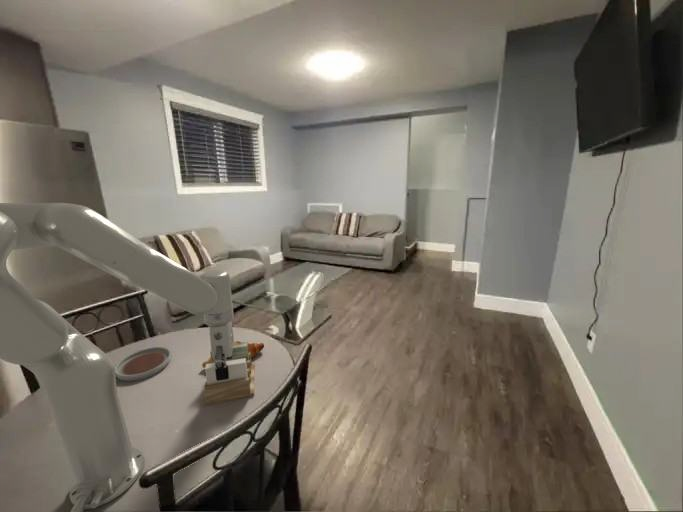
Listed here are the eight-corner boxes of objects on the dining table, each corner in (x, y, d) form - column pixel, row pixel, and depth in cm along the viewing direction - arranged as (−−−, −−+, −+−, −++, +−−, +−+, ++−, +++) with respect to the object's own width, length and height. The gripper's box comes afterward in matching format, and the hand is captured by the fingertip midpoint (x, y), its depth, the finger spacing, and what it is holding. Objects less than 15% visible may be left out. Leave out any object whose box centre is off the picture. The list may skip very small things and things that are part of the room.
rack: (254, 395, 85) (250, 365, 82) (203, 405, 82) (198, 374, 79) (254, 364, 99) (252, 338, 96) (211, 372, 95) (207, 344, 93)
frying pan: (69, 372, 93) (167, 340, 110) (72, 379, 94) (168, 346, 111) (64, 402, 81) (175, 361, 97) (67, 411, 81) (177, 368, 98)
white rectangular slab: (248, 389, 86) (245, 362, 84) (209, 396, 83) (204, 368, 81) (248, 384, 88) (245, 358, 86) (210, 391, 86) (206, 364, 83)
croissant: (205, 383, 95) (204, 372, 90) (199, 358, 101) (197, 345, 96) (267, 360, 106) (268, 349, 101) (258, 338, 112) (259, 326, 107)
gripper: (230, 327, 72) (236, 385, 76) (235, 301, 88) (240, 350, 92) (197, 331, 70) (205, 391, 74) (209, 304, 86) (215, 354, 90)
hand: (224, 368), depth 83 cm, fingers open, 9 cm apart
